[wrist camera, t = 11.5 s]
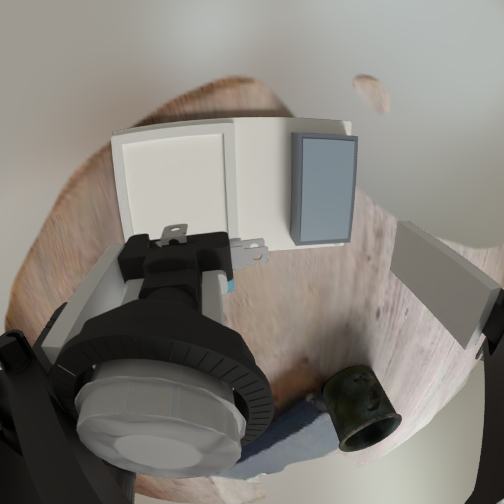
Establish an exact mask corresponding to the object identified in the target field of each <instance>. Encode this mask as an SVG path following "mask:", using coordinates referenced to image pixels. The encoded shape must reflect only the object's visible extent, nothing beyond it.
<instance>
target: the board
mask: <svg viewBox="0 0 504 504" xmlns="http://www.w3.org/2000/svg"><path fill="white" fill-rule="evenodd" d="M291 132H298V133H323V134H339V135H350V136H351V122H350V121H339V120H326V119H311V118H288V117H243V118H219V119H203V120H191V121H181V122H171V123H163V124H155V125H148V126H141V127H135V128H129V129H123V130H118V131H113V132H112V134H113V136H111V144H112V155H113V165H114V174H115V182H116V189H117V196H118V203H119V209H120V215H121V221H122V227H123V232H124V238H125V243H126V242H127V240H128V239H129V237H131V236H133V235H137V234H144V233H146V234H149V239H150V240H154V239H160V237H162V232H163V230H164V227H166V226H169V225H176V224H188V228H187V233H186V235H194V234H202V233H211V232H219V231H224V232H227V233H228V236H229V239H232V238H241V240H250V239H259V238H263V239H264V240H265V246H267V247H268V251H274V250H288V249H302V248H316V247H330V246H343V245H344V243H332V244H317V245H302V246H296V245H295V244H294V242H293V241H292V239H291V238H290V214H291ZM178 229H180V228H174V229H171V231H175V230H178ZM253 247H258V244H255V243H254V244H252V245H251V246H250V248H253Z"/></svg>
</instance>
